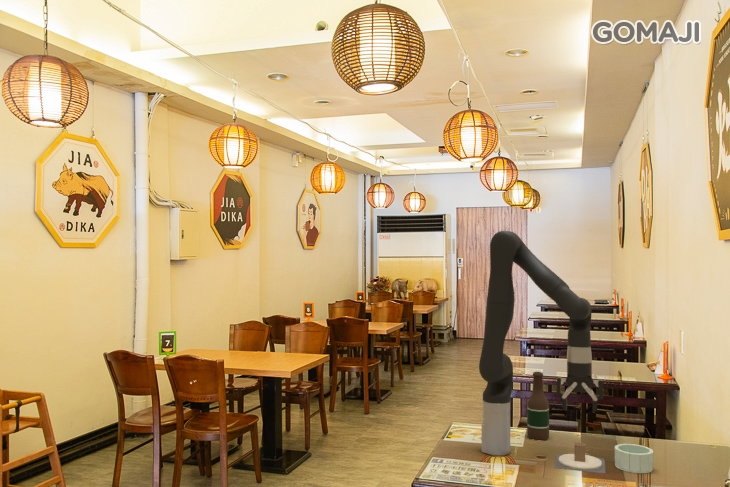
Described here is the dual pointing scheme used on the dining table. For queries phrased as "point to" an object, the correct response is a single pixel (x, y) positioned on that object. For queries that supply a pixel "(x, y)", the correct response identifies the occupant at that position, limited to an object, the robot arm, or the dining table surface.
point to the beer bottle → (538, 411)
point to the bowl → (634, 458)
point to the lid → (580, 459)
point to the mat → (560, 466)
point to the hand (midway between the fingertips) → (579, 411)
